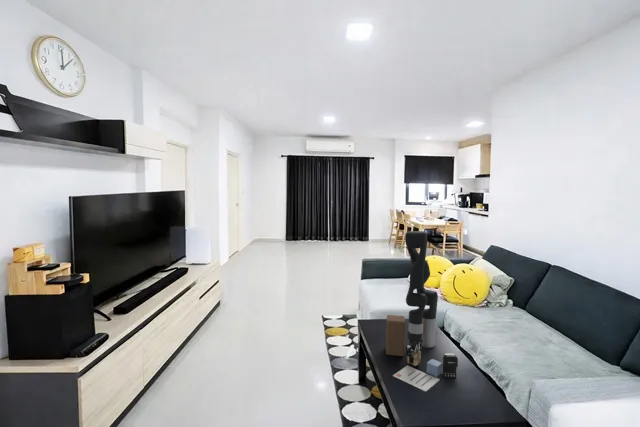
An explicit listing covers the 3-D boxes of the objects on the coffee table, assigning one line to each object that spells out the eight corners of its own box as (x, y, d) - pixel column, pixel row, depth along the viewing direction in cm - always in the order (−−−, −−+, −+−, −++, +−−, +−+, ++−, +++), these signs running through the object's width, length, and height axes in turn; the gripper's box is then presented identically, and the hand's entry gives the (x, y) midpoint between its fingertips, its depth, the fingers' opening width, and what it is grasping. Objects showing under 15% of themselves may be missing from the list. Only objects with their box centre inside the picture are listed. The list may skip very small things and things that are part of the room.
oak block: (412, 359, 186) (412, 348, 185) (420, 362, 182) (420, 351, 182) (407, 362, 182) (407, 351, 182) (415, 366, 179) (416, 354, 178)
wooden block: (403, 357, 191) (405, 322, 189) (385, 355, 192) (386, 320, 191) (403, 348, 200) (404, 315, 199) (385, 347, 202) (386, 313, 201)
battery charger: (443, 379, 170) (444, 356, 169) (441, 374, 174) (442, 353, 173) (458, 379, 170) (459, 357, 168) (455, 375, 173) (456, 353, 172)
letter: (407, 365, 182) (407, 365, 182) (439, 379, 169) (439, 379, 169) (392, 375, 172) (392, 375, 172) (425, 391, 159) (425, 391, 159)
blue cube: (431, 368, 179) (432, 358, 179) (441, 373, 175) (442, 362, 175) (426, 372, 175) (426, 362, 175) (436, 377, 171) (437, 366, 171)
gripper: (415, 324, 188) (414, 354, 190) (401, 332, 178) (400, 363, 180) (428, 328, 183) (427, 359, 185) (414, 336, 173) (413, 369, 174)
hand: (413, 361), depth 182 cm, fingers closed on oak block, 5 cm apart
